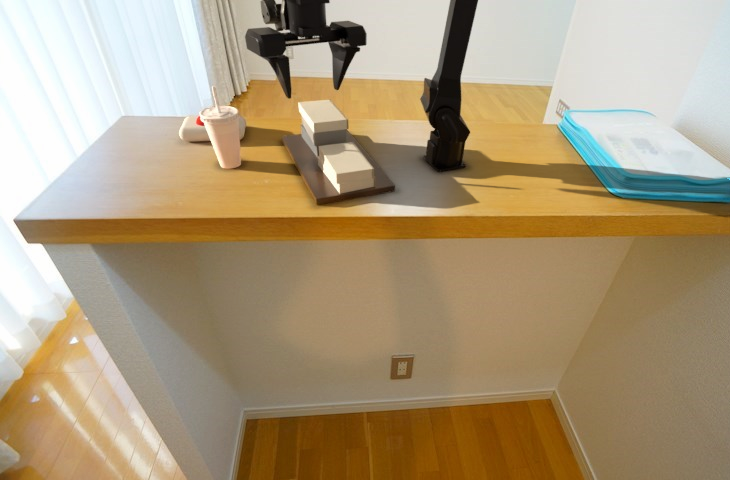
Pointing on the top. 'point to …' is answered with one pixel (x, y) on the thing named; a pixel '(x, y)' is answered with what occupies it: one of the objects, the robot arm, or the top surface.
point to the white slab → (202, 129)
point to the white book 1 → (323, 116)
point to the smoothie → (223, 132)
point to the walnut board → (319, 181)
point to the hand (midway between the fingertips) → (313, 93)
